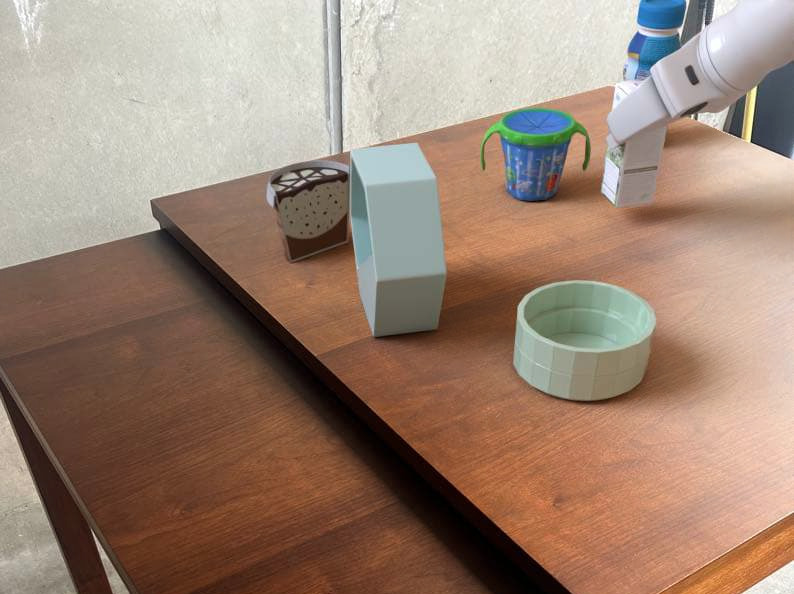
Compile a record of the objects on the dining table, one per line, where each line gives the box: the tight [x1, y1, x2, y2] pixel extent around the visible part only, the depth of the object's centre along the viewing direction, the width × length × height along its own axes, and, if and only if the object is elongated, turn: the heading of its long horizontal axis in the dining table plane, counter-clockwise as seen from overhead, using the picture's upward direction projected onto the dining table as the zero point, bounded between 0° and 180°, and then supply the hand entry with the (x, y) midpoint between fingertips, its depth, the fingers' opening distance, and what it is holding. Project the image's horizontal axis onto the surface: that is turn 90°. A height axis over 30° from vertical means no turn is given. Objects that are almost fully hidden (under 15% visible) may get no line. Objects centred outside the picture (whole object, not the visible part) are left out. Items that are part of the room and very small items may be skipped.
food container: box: [266, 160, 350, 264], centre depth 115 cm, size 12×6×10 cm, turn 126°
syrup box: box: [600, 79, 668, 209], centre depth 114 cm, size 6×6×14 cm
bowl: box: [512, 279, 657, 402], centre depth 94 cm, size 14×14×6 cm
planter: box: [349, 142, 448, 338], centre depth 99 cm, size 17×8×21 cm
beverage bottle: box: [622, 0, 687, 143], centre depth 134 cm, size 8×8×20 cm
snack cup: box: [480, 107, 592, 202], centre depth 124 cm, size 16×10×10 cm
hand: (632, 134), depth 114 cm, fingers closed on syrup box, 7 cm apart
